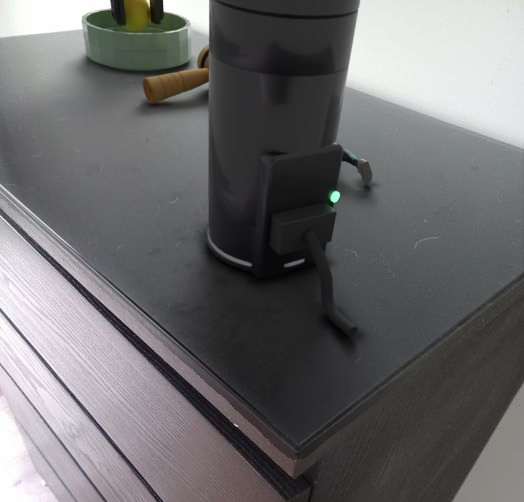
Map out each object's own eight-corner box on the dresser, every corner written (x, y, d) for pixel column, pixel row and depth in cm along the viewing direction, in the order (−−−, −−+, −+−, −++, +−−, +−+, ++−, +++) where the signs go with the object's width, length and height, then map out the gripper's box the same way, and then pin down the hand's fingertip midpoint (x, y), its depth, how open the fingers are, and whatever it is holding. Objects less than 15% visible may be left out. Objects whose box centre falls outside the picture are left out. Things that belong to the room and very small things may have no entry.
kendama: (168, 126, 64) (288, 87, 70) (154, 69, 60) (283, 33, 67) (144, 116, 70) (257, 81, 76) (129, 63, 66) (250, 30, 72)
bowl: (207, 69, 78) (208, 30, 74) (106, 78, 72) (101, 36, 68) (167, 41, 87) (165, 6, 84) (74, 47, 81) (68, 9, 77)
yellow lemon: (159, 20, 76) (145, -32, 75) (125, 20, 74) (111, -33, 73) (145, 43, 82) (133, -5, 81) (114, 44, 80) (101, -5, 79)
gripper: (76, -141, 59) (98, 33, 71) (192, -132, 65) (195, 27, 76) (58, -143, 64) (81, 20, 75) (168, -134, 69) (174, 16, 81)
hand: (139, 23), depth 76 cm, fingers open, 4 cm apart
